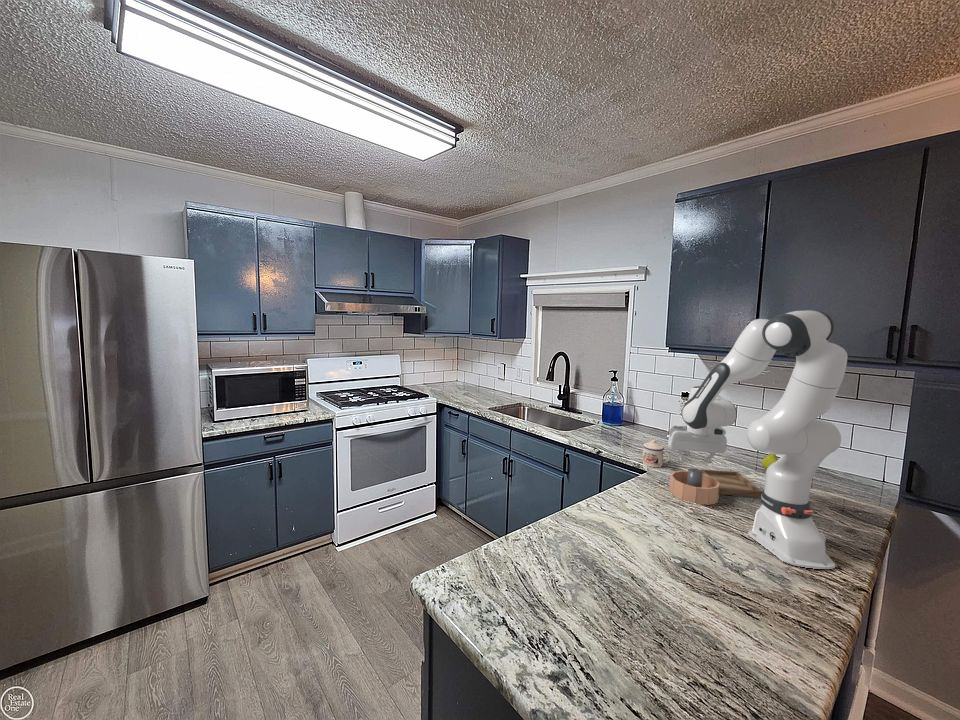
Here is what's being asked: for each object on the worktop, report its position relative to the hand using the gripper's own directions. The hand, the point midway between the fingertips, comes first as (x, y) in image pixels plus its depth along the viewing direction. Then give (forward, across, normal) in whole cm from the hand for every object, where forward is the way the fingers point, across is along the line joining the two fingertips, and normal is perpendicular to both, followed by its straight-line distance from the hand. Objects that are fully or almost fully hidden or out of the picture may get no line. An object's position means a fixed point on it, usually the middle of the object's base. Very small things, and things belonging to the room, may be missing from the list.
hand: (694, 461), depth 155 cm
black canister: (+14, 0, -1) cm, 14 cm away
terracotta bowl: (+13, 0, -1) cm, 13 cm away
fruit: (+14, +44, +31) cm, 56 cm away
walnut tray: (+14, +18, +11) cm, 25 cm away
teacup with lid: (+15, -6, +29) cm, 33 cm away
